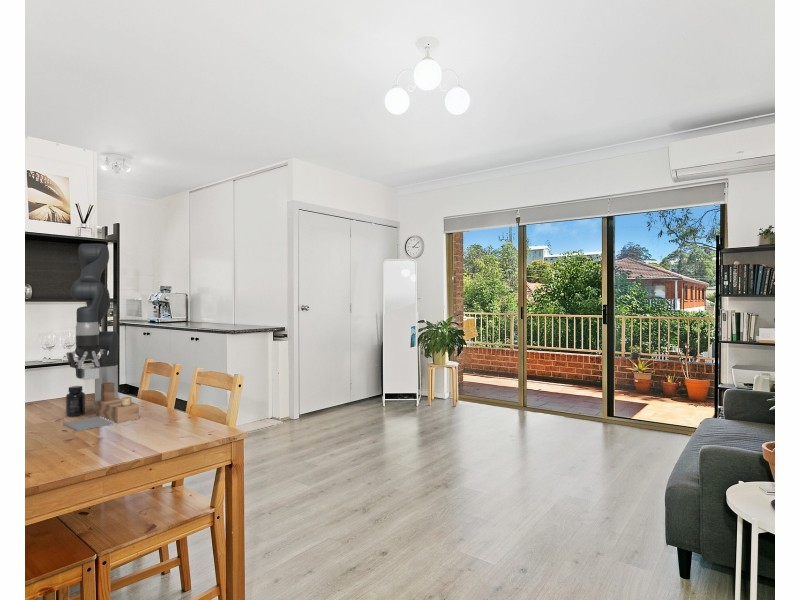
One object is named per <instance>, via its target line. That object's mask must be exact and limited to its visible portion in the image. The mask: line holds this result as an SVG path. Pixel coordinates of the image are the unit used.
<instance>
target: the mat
mask: <svg viewBox="0 0 800 600" xmlns="http://www.w3.org/2000/svg"><path fill="white" fill-rule="evenodd" d="M113 423H114V422H113V421H110V420H108V419H105V418H102V417H99V416H93V417H88V418H84V419H83V418H82V419H79V420H73V421H67V422H63V423H62V425H63V426H64V425H65V426H64V427H66V426H67V427H66V428H68V427H69V429H71V430H73V429H74V430H73V431H75V430H76V432H82V431H81V430H83V431H86V430H85V429H88V430H91V429H90V428H93V429H96V428H95V427H98V428H101V427H100V426H103V427H106V426H105V425H107V426H111V425H110V424H112V425H113Z"/></svg>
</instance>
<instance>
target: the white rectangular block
mask: <svg viewBox="0 0 800 600" xmlns="http://www.w3.org/2000/svg"><path fill="white" fill-rule="evenodd" d="M81 369H82V378H80V380H83V381H88V380H95V379H97V378H99V368H97V367H94V365H93V366H92V365H87V366H82V367H81ZM75 377H76V376H75ZM76 378H77V379H79V378H78V377H76Z"/></svg>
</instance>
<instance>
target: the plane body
mask: <svg viewBox="0 0 800 600" xmlns="http://www.w3.org/2000/svg"><path fill="white" fill-rule="evenodd" d="M139 407H140V405H139V404H138V403H135V402H132V397H129V396H127V397H121V398H120V397H118V398H115V383H112V382H110V383H103V384H101V400H100V401H96V403H95V415H96V416H97V415H99V416H101V417H100V418H102V417H104V418H103V419H105V418H106V419H105V420H108V419H109V420H108V421H110V420H111V421H110V422H113V421H114V422H113V423H116V424H121V422H122V423H125V422H124V421H127V422H130V421H129V420H132V421H135V419H137V420H139V419H140V418H139V417H140V415H139V414H140V410H139V409H140V408H139ZM99 416H98V417H99Z"/></svg>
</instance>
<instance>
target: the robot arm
mask: <svg viewBox="0 0 800 600" xmlns="http://www.w3.org/2000/svg"><path fill="white" fill-rule="evenodd" d="M109 250H110V249H109V246H107V245H106V244H105V243H80V244H79V246H78V259H79V262H80V263H79V265H80V268H81V272H80V276H79V277H78V278H77V279H76V280H75V281H74V282H73V284H72V286H71V288H70V296H71V297H72V299H73V300H75V301H83V302H84V301H85V305H86V306H84V305H83V306H80V307H78V308H77V309H76V324H75V325H76V326H75V349H74V351H69V352H66V354H65V355H66V358H67V361H68V365H69V367H70V368H73V369H75V377H78V378H77V379H80V378H82V369H81V367H83V364H84V363H85V361H87V360H91V362H92V364H93V367H97V368H99V378H97V379H94V404H96V401H100V400H101V384H103V383H110V382H112V383H115V398H119V373H118V371H119V369H118V368H119V367H118V366H119V363H118V361H119V343H120V342H119V341H120V339H119V334H118V332H117V331H113V330H112V331H111V330H109V331H108V330H105V331H104V330H103V331H101V330H100V327H101V326H100V325H101V323H102V320H103V319H104V317H105V316H106V314H107V313H108V311H109V310H110V308H111V297H110V291H109V289H108V287H107V286H105V284H104V283H103V282H102V281H101V277H102V274H103V273H104V270H105V269H106V267H107V266H108V264H109V261H110V251H109ZM98 355H100V356H99V358H98ZM75 356H77V357H78V358H77V359H76V361H75ZM80 380H81V379H80Z"/></svg>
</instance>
